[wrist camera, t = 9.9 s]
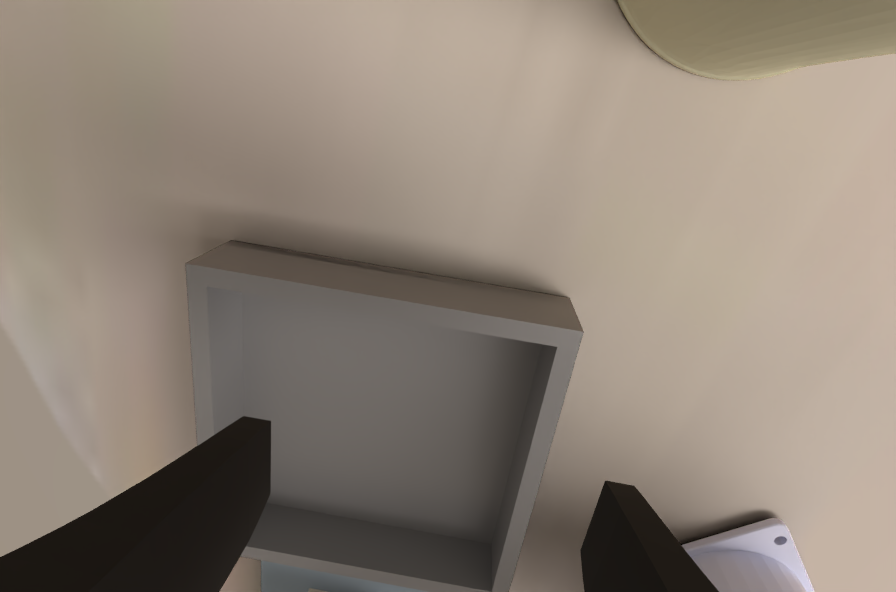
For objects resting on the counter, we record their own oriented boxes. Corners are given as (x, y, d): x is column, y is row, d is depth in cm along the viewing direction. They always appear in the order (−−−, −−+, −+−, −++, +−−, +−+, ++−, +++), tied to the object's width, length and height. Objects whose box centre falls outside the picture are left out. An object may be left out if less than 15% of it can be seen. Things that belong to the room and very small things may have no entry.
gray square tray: (569, 298, 18) (583, 331, 15) (503, 546, 23) (504, 605, 20) (231, 240, 19) (185, 263, 16) (237, 497, 24) (203, 549, 21)
